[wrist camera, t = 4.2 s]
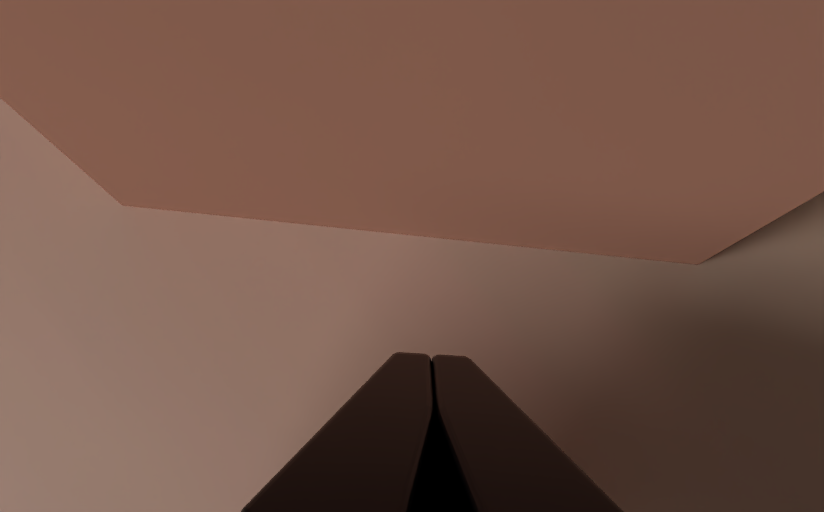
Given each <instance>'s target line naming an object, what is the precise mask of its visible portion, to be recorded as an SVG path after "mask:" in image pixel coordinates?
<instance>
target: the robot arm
mask: <svg viewBox="0 0 824 512" xmlns="http://www.w3.org/2000/svg"><path fill="white" fill-rule="evenodd" d="M241 512H623V511H622V510H621V509H620V508H619V507H618V506H617V505H616V504H615V503H614V502H613V501H612V500H611V499H610V498H609V497H608V496H607V495H606V494H605V493H604V492H603V491H602V490H601V489H600V488H599V487H598V486H597V485H596V484H595V483H594V482H593V481H592V480H591V479H590V478H589V477H588V476H587V475H586V474H585V473H584V472H583V471H582V470H581V469H580V468H579V467H578V466H577V465H576V464H575V463H574V462H573V461H572V460H571V459H570V458H569V457H568V456H567V455H566V454H565V453H564V452H563V451H562V450H561V449H560V448H559V447H558V446H557V445H556V444H555V443H554V442H553V441H552V440H551V439H550V438H549V437H548V436H547V435H546V434H545V433H544V432H543V431H542V430H541V429H540V428H539V427H538V426H537V425H536V424H535V423H534V422H533V421H532V420H531V419H530V418H529V417H528V416H527V415H526V414H525V413H524V412H523V411H522V410H521V409H520V408H519V407H518V406H517V405H516V404H515V403H514V402H513V401H512V400H511V399H510V398H509V397H508V396H507V395H506V394H505V393H504V392H503V391H502V390H501V389H500V388H499V387H498V386H497V385H496V384H495V383H494V382H493V381H492V380H491V379H490V378H489V377H488V376H487V375H486V374H485V373H484V372H483V371H482V370H481V369H480V368H479V367H478V366H477V365H476V364H475V363H474V362H473V361H472V360H471V359H469V358H468V357H466V356H453V355H436V356H434V357H433V358H432V361H431V358H430V357H429V356H428V355H427V354H420V353H403V352H397V353H395V354H393V355H392V356H391V357H390V358H389V359H388V360H387V361H386V362H385V363H384V364H383V365H382V366H381V367H380V368H379V369H378V370H377V371H376V372H375V373H374V374H373V375H372V377H371V378H370V379H369V380H368V381H367V382H366V383H365V384H364V385H363V386H362V387H361V388H360V389H359V390H358V391H357V392H356V393H355V394H354V395H353V396H352V397H351V398H350V399H349V400H348V401H347V402H346V403H345V404H344V405H343V406H342V407H341V408H340V409H339V410H338V411H337V412H336V414H335V415H334V416H333V417H332V418H331V419H330V420H329V421H328V422H327V423H326V424H325V425H324V426H323V427H322V428H321V429H320V430H319V431H318V432H317V433H316V434H315V435H314V436H313V437H312V438H311V439H310V440H309V441H308V442H307V443H306V444H305V445H304V446H303V447H302V448H301V449H300V450H299V452H298V453H297V454H296V455H295V456H294V457H293V458H292V459H291V460H290V461H289V462H288V463H287V464H286V465H285V466H284V467H283V468H282V469H281V470H280V471H279V472H278V473H277V474H276V475H275V476H274V477H273V478H272V479H271V480H270V481H269V482H268V483H267V484H266V485H265V486H264V487H263V489H262V490H261V491H260V492H259V493H258V494H257V495H256V496H255V497H254V498H253V499H252V500H251V501H250V502H249V503H248V504H247V505H246V506H245V507H244V508H243V509H242V511H241Z"/></svg>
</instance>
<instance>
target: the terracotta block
mask: <svg viewBox="0 0 824 512" xmlns="http://www.w3.org/2000/svg"><path fill="white" fill-rule="evenodd" d="M0 98H1V99H2V100H3V101H5V102H6V103H7V104H8V105H9V106H10V107H11V108H13V109H14V110H15V111H16V112H17V113H18V114H19V115H20V116H22V117H23V118H24V119H25V120H26V121H27V122H28V123H30V124H31V125H32V126H33V127H34V128H35V129H36V130H37V131H39V132H40V133H41V134H42V135H43V136H44V137H45V138H47V139H48V140H49V141H50V142H51V143H52V144H53V145H54V146H56V147H57V148H58V149H59V150H60V151H61V152H62V153H64V154H65V155H66V156H67V157H68V158H69V159H70V160H71V161H73V162H74V163H75V164H76V165H77V166H78V167H79V168H81V169H82V170H83V171H84V172H85V173H86V174H87V175H88V176H90V177H91V178H92V179H93V180H94V181H95V182H96V183H97V184H99V185H100V186H101V187H102V188H103V189H104V190H105V191H107V192H108V193H109V194H110V195H111V196H112V197H113V198H114V199H116V200H117V201H118V202H119V203H120V204H121V205H123V206H133V207H143V208H152V209H162V210H172V211H181V212H191V213H201V214H211V215H220V216H230V217H240V218H249V219H259V220H269V221H278V222H288V223H298V224H308V225H317V226H327V227H337V228H346V229H356V230H366V231H375V232H385V233H395V234H404V235H414V236H424V237H434V238H443V239H453V240H463V241H472V242H482V243H492V244H501V245H511V246H521V247H531V248H540V249H550V250H560V251H569V252H579V253H589V254H598V255H608V256H618V257H628V258H637V259H647V260H657V261H666V262H676V263H686V264H695V265H698V264H700V263H702V262H703V261H705V260H707V259H708V258H710V257H712V256H714V255H715V254H717V253H719V252H720V251H722V250H724V249H726V248H727V247H729V246H731V245H732V244H734V243H736V242H738V241H739V240H741V239H743V238H744V237H746V236H748V235H750V234H751V233H753V232H755V231H757V230H758V229H760V228H762V227H763V226H765V225H767V224H769V223H770V222H772V221H774V220H775V219H777V218H779V217H781V216H782V215H784V214H786V213H787V212H789V211H791V210H793V209H794V208H796V207H798V206H800V205H801V204H803V203H805V202H806V201H808V200H810V199H812V198H813V197H815V196H817V195H818V194H820V193H822V192H824V0H0Z"/></svg>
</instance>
